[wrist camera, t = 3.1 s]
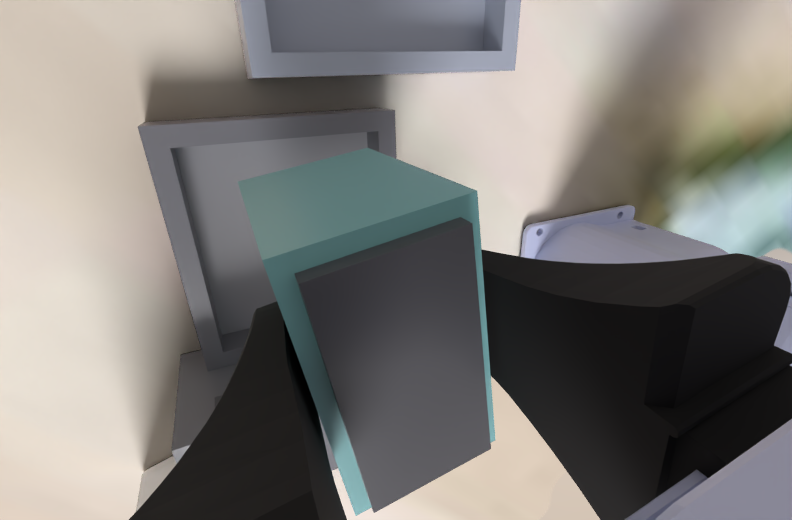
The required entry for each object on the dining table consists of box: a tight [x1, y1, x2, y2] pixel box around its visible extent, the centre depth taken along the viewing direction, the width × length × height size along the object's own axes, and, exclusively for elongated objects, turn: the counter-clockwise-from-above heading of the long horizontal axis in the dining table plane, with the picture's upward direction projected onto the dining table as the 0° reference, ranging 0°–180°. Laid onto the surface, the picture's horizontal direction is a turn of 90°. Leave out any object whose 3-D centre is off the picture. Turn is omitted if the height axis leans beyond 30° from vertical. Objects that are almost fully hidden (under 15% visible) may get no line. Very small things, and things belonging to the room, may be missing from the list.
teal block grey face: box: [238, 148, 495, 516], centre depth 11 cm, size 4×7×6 cm, turn 10°
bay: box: [138, 108, 396, 471], centre depth 17 cm, size 12×15×6 cm
